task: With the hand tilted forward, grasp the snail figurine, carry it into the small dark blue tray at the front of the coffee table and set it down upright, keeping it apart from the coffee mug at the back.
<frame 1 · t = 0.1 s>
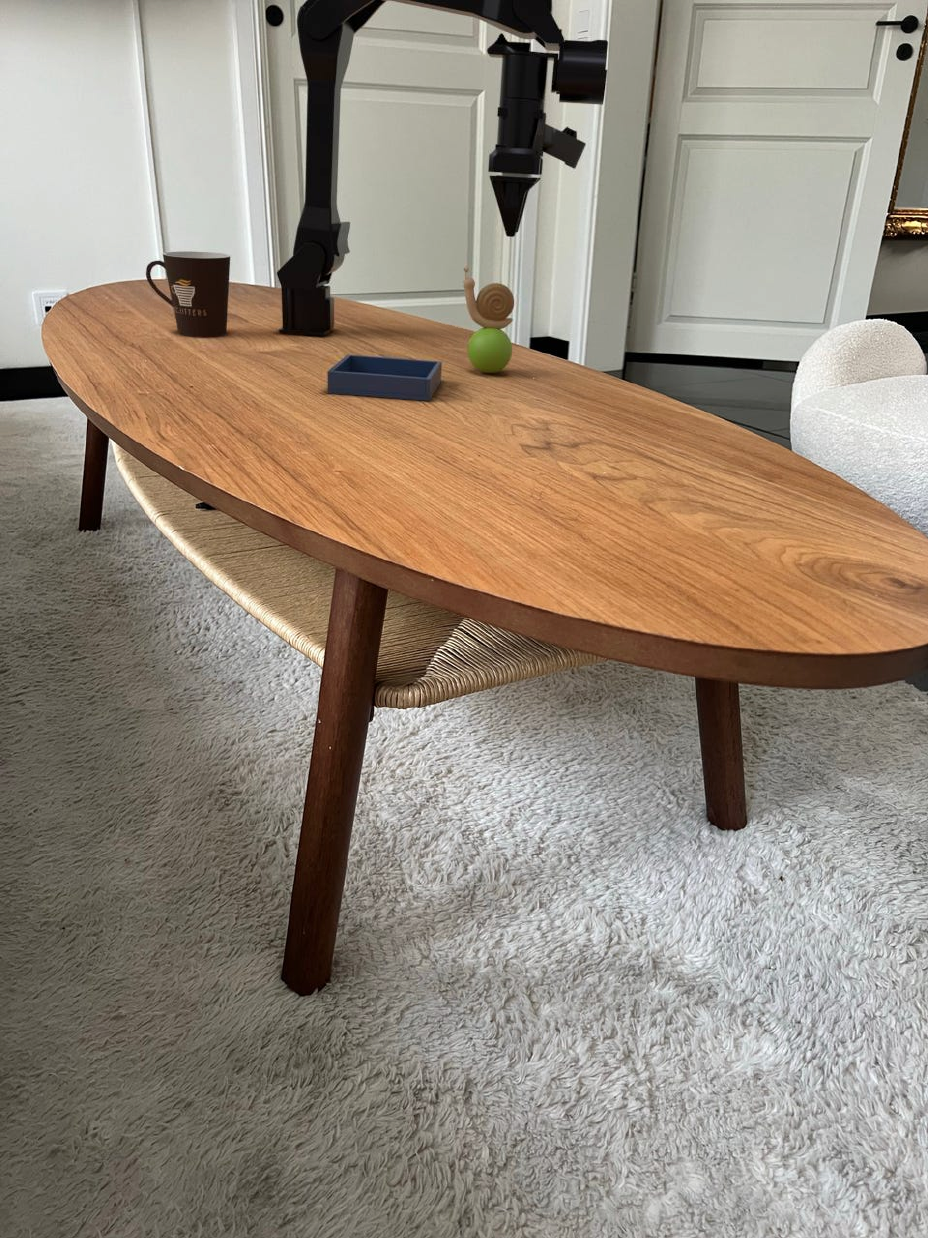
hand: (512, 234, 121), 15 cm above the table, tool pointing down, fingers open, 9 cm apart
snail figurine: (484, 374, 111), on the table
blue tray: (386, 387, 100), on the table
coffee mug: (196, 332, 125), on the table
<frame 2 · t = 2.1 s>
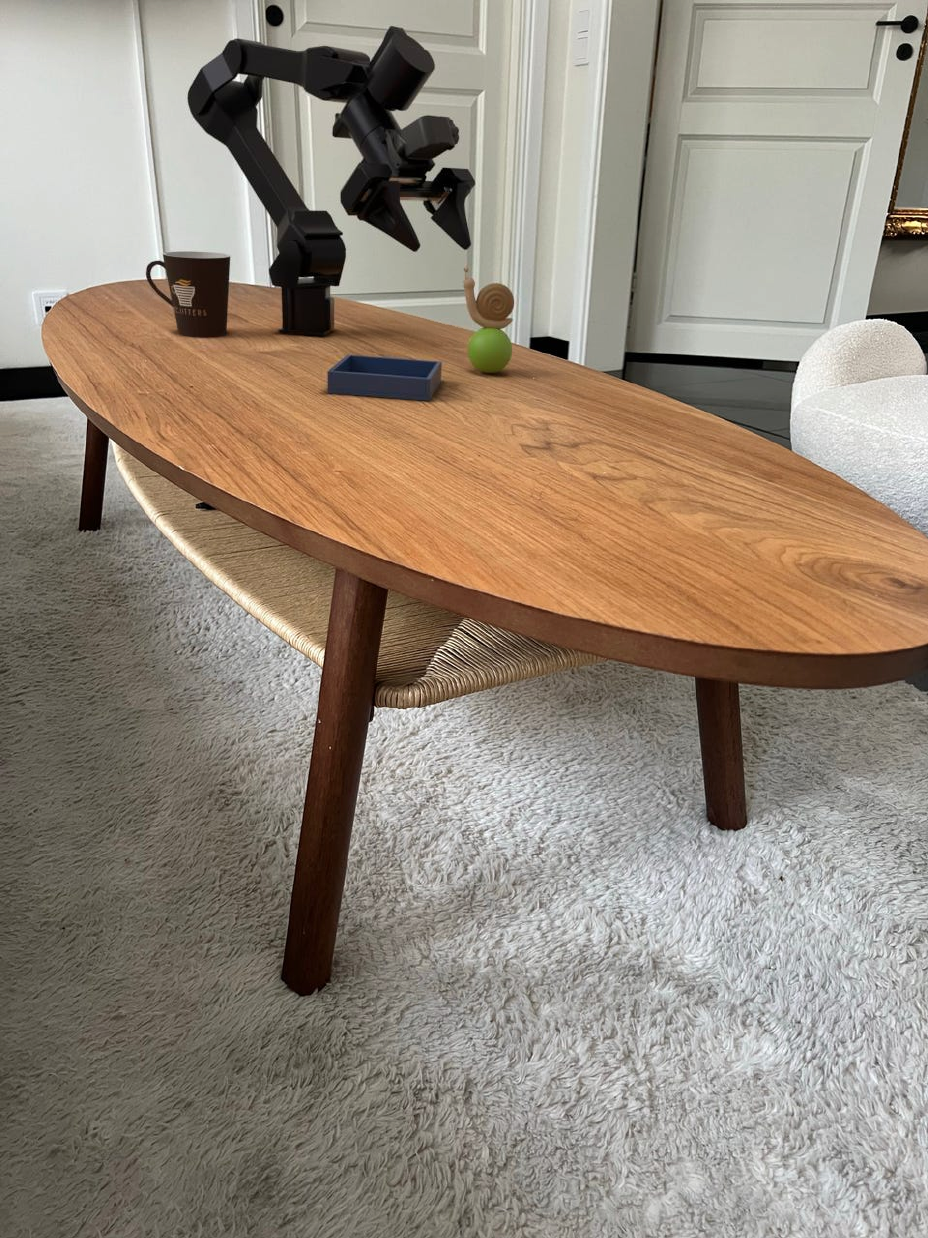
hand: (443, 248, 109), 13 cm above the table, tool tilted 45°, fingers open, 9 cm apart
nothing on the table moved.
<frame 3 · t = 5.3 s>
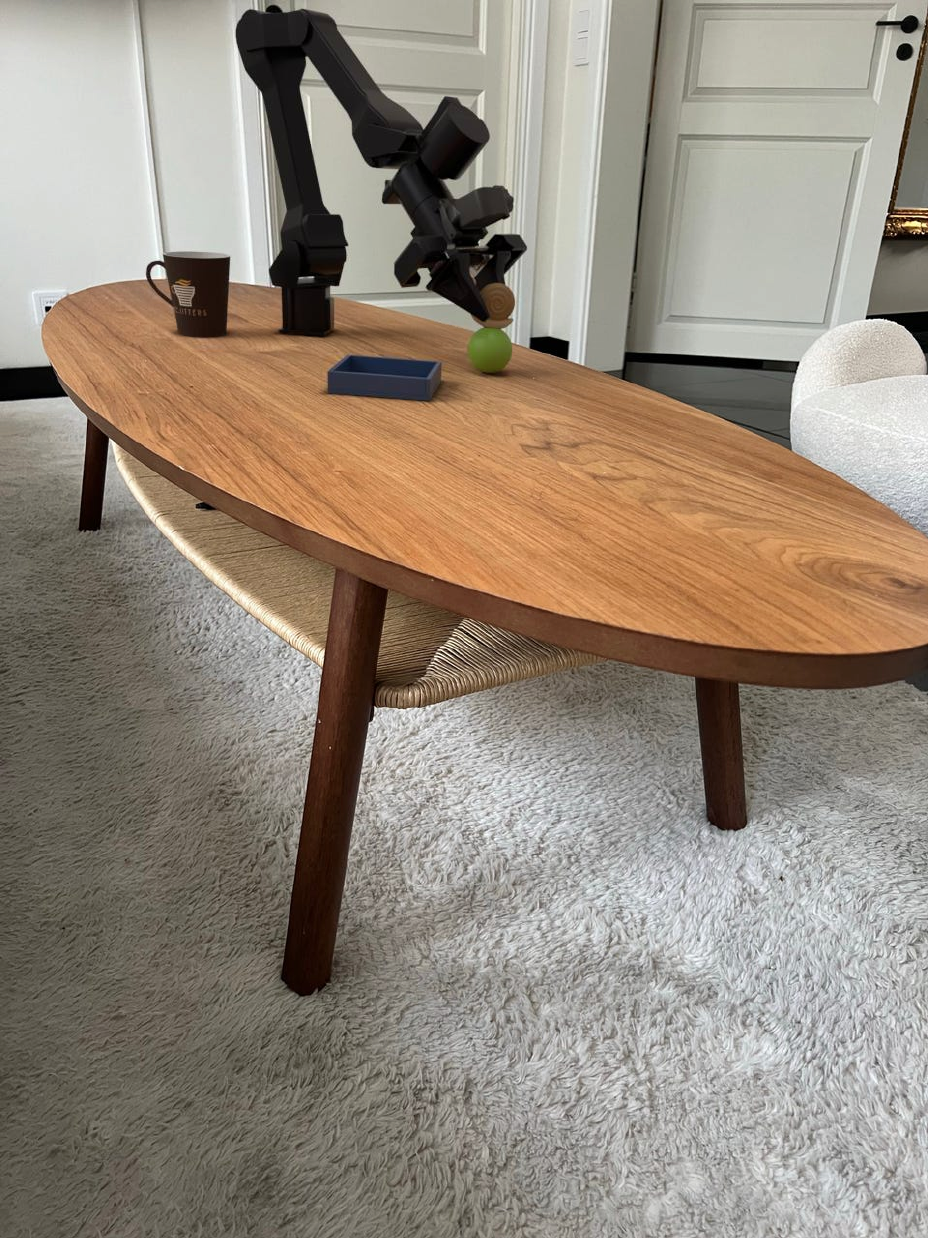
hand: (497, 318, 107), 7 cm above the table, tool tilted 45°, fingers closed on snail figurine, 4 cm apart
snail figurine: (483, 373, 111), on the table, touching gripper
everything else where it was.
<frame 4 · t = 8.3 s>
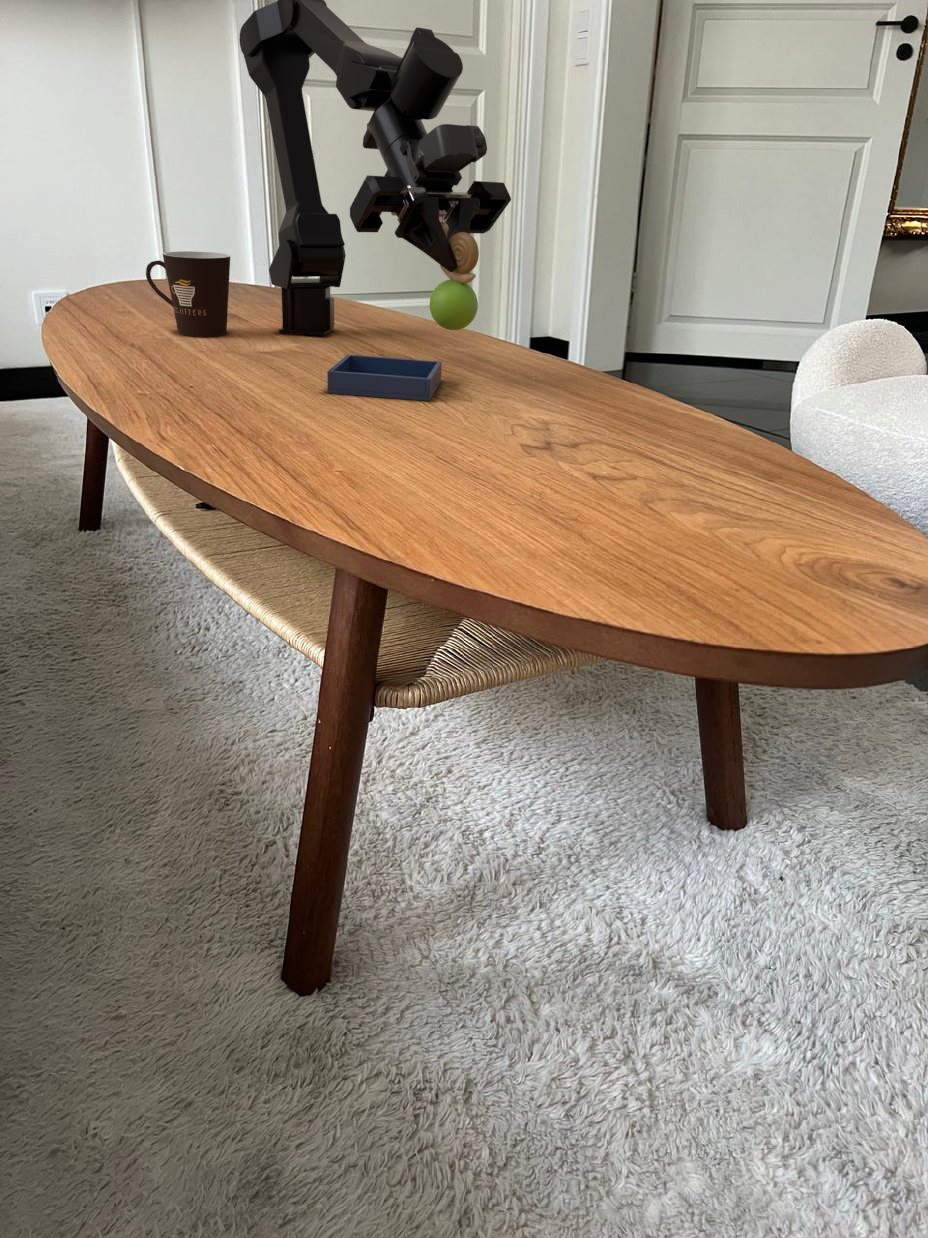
hand: (461, 269, 99), 12 cm above the table, tool tilted 45°, fingers closed on snail figurine
snail figurine: (446, 330, 103), point 6 cm above the table, touching gripper
everything else where it was.
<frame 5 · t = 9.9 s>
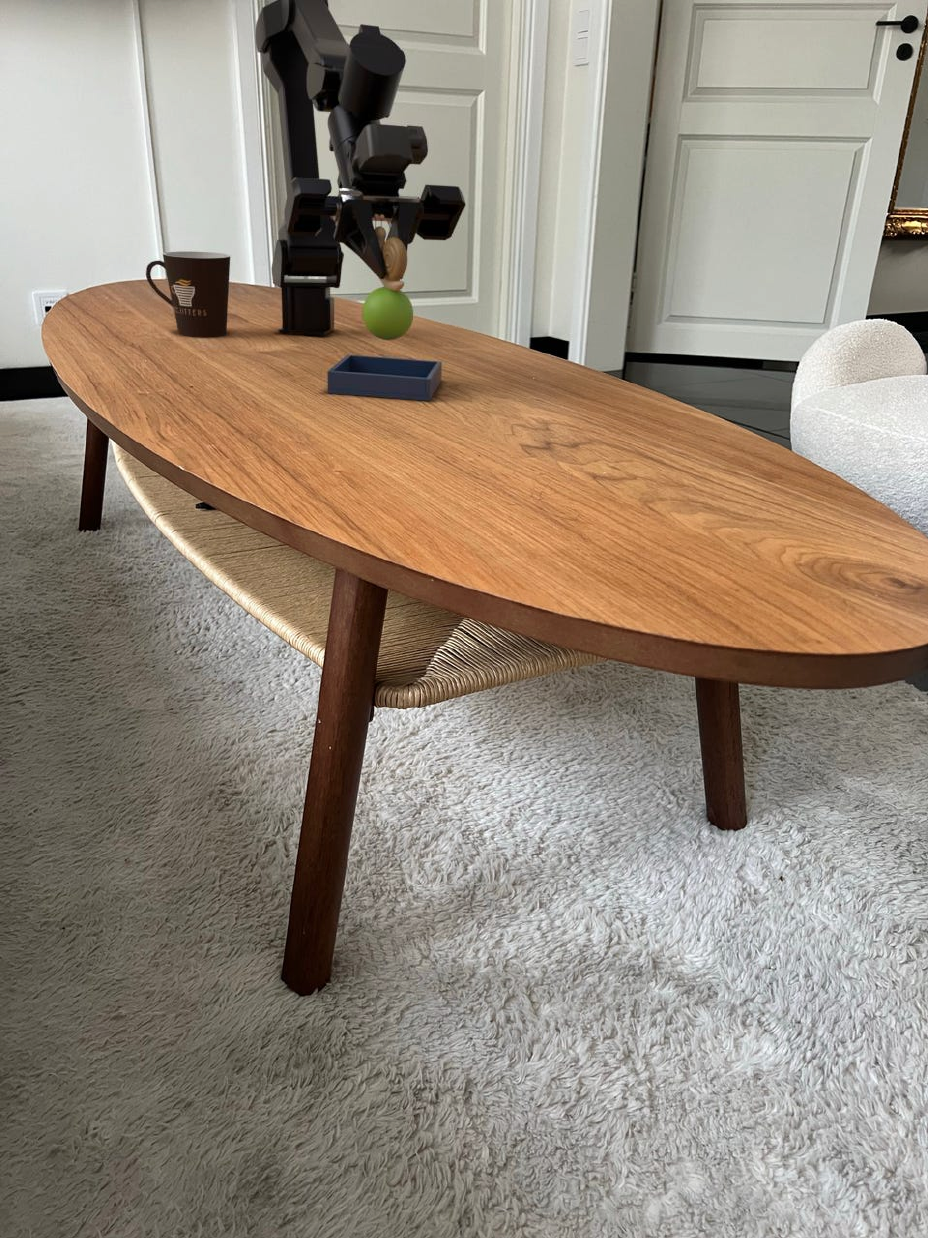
hand: (392, 276, 94), 12 cm above the table, tool tilted 45°, fingers closed on snail figurine
snail figurine: (383, 339, 98), point 5 cm above the table, touching gripper
everything else where it was.
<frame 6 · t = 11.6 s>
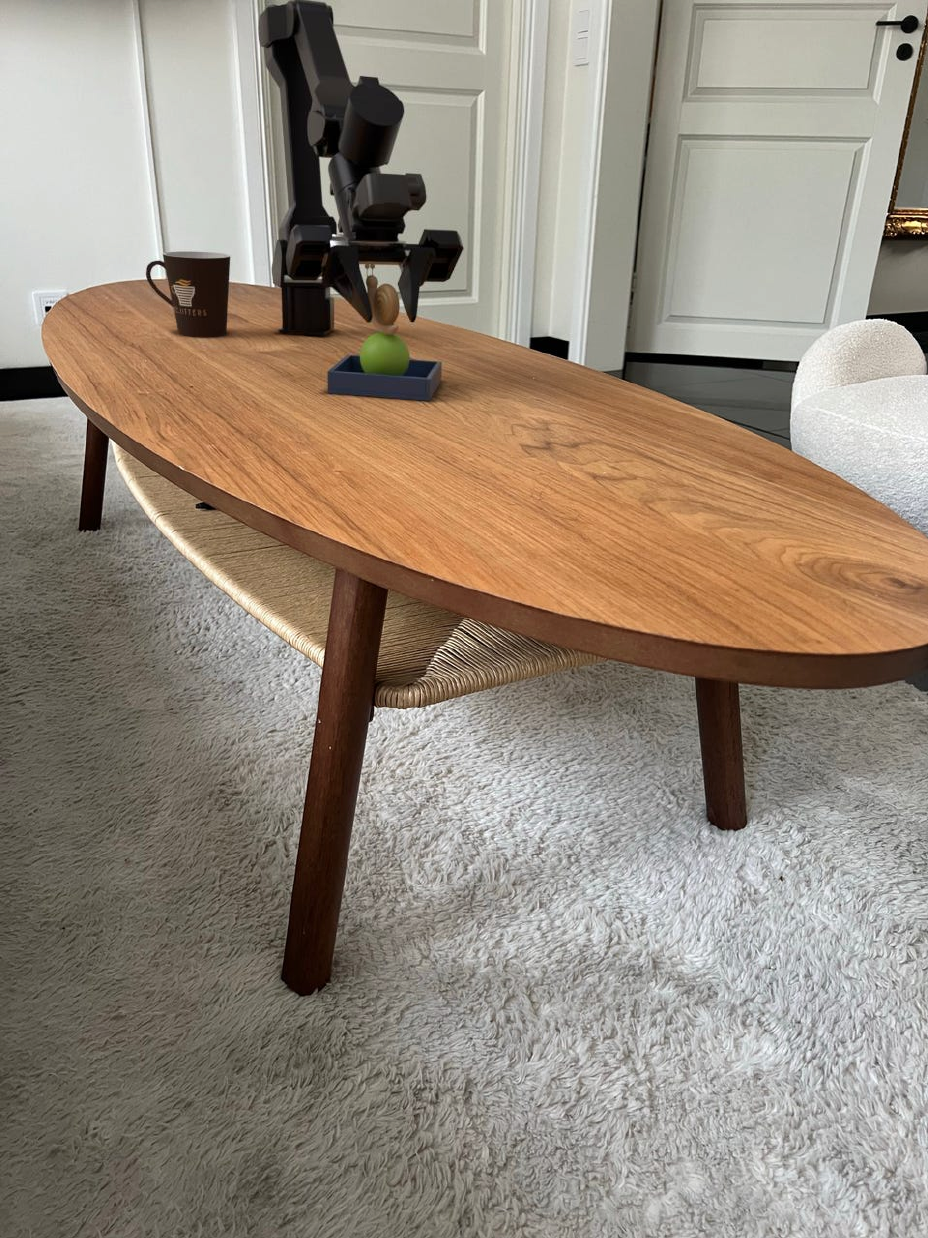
hand: (392, 319, 96), 7 cm above the table, tool tilted 45°, fingers open, 4 cm apart
snail figurine: (382, 383, 101), resting on blue tray
everything else where it was.
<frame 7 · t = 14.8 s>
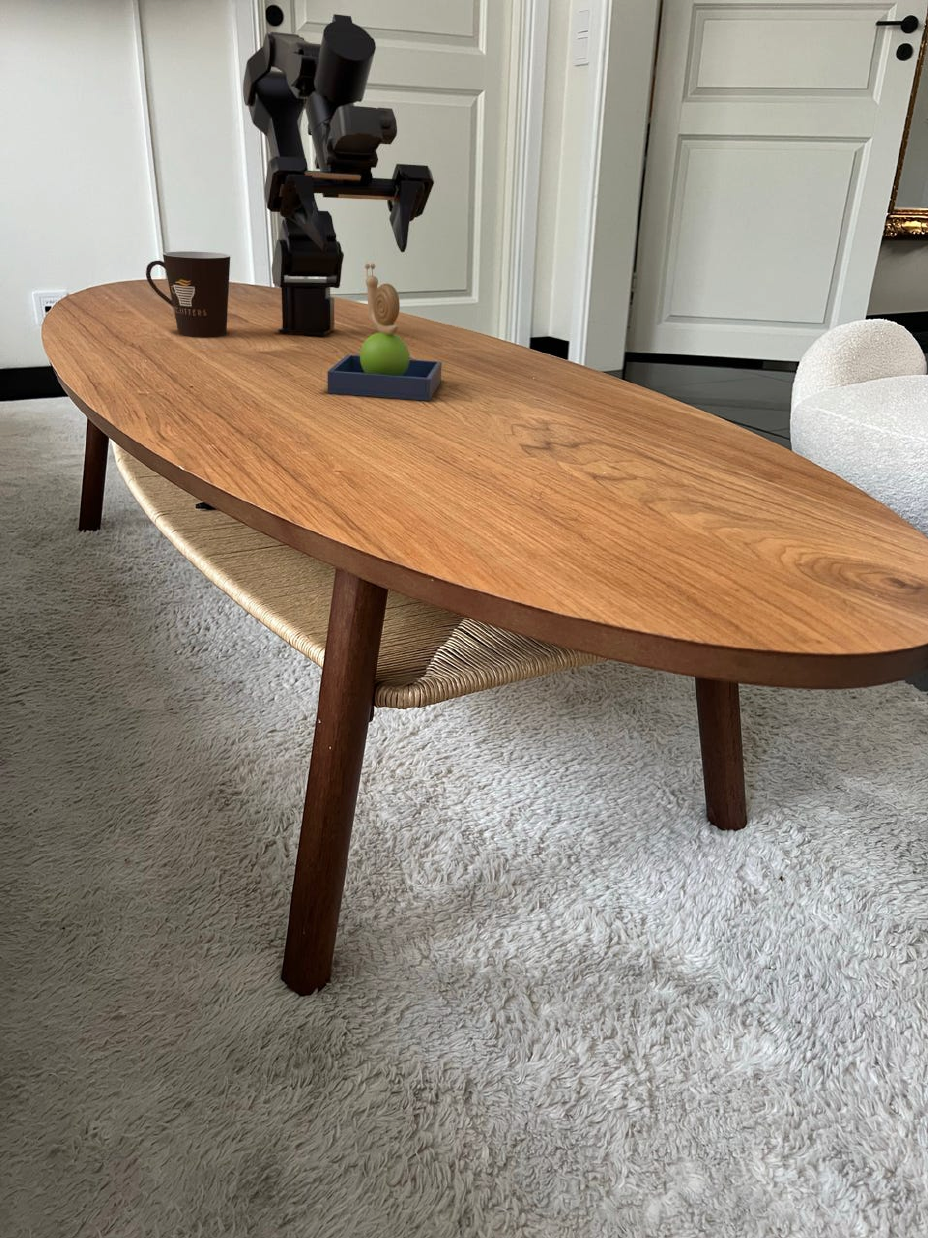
hand: (365, 248, 101), 14 cm above the table, tool tilted 45°, fingers open, 9 cm apart
nothing on the table moved.
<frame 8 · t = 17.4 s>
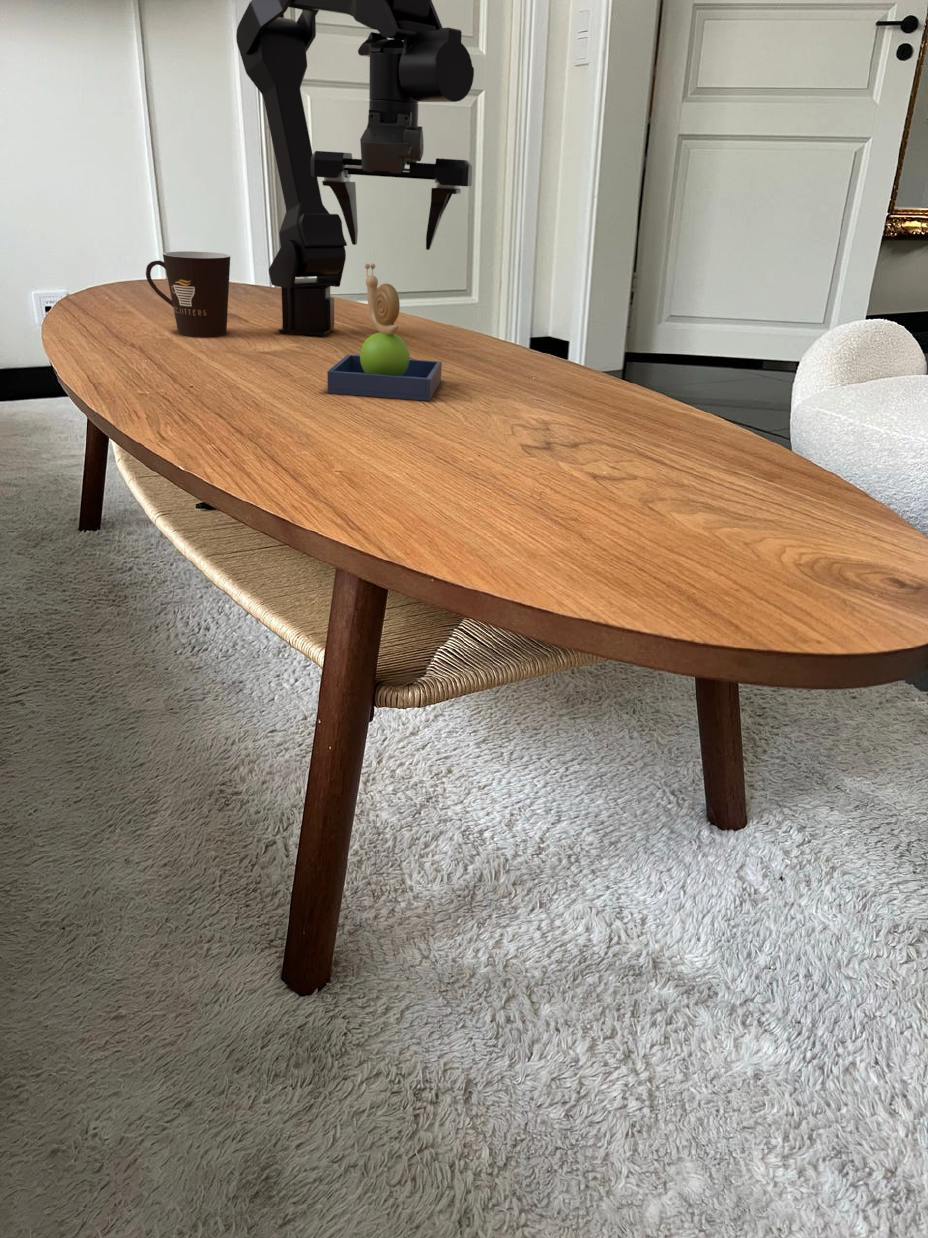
hand: (391, 246, 112), 13 cm above the table, tool pointing down, fingers open, 9 cm apart
nothing on the table moved.
at the end: snail figurine inside the target area in the blue tray (0.7 cm from its centre), point 0.3 cm above the blue tray's base; snail figurine tilted 0°; snail figurine touching blue tray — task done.
